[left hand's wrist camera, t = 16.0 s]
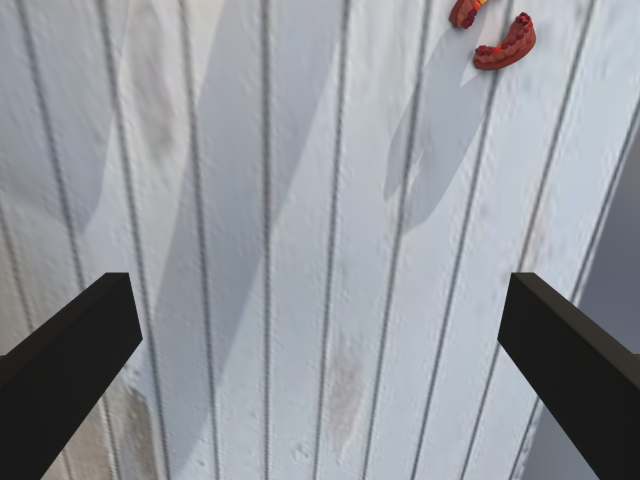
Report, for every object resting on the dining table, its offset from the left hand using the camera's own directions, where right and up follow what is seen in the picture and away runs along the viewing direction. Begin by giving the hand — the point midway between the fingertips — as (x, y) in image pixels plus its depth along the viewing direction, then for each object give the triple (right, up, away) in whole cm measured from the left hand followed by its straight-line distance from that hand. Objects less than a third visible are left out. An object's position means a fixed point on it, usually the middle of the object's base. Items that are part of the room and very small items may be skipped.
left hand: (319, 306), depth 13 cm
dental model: (+16, +23, +23) cm, 37 cm away
